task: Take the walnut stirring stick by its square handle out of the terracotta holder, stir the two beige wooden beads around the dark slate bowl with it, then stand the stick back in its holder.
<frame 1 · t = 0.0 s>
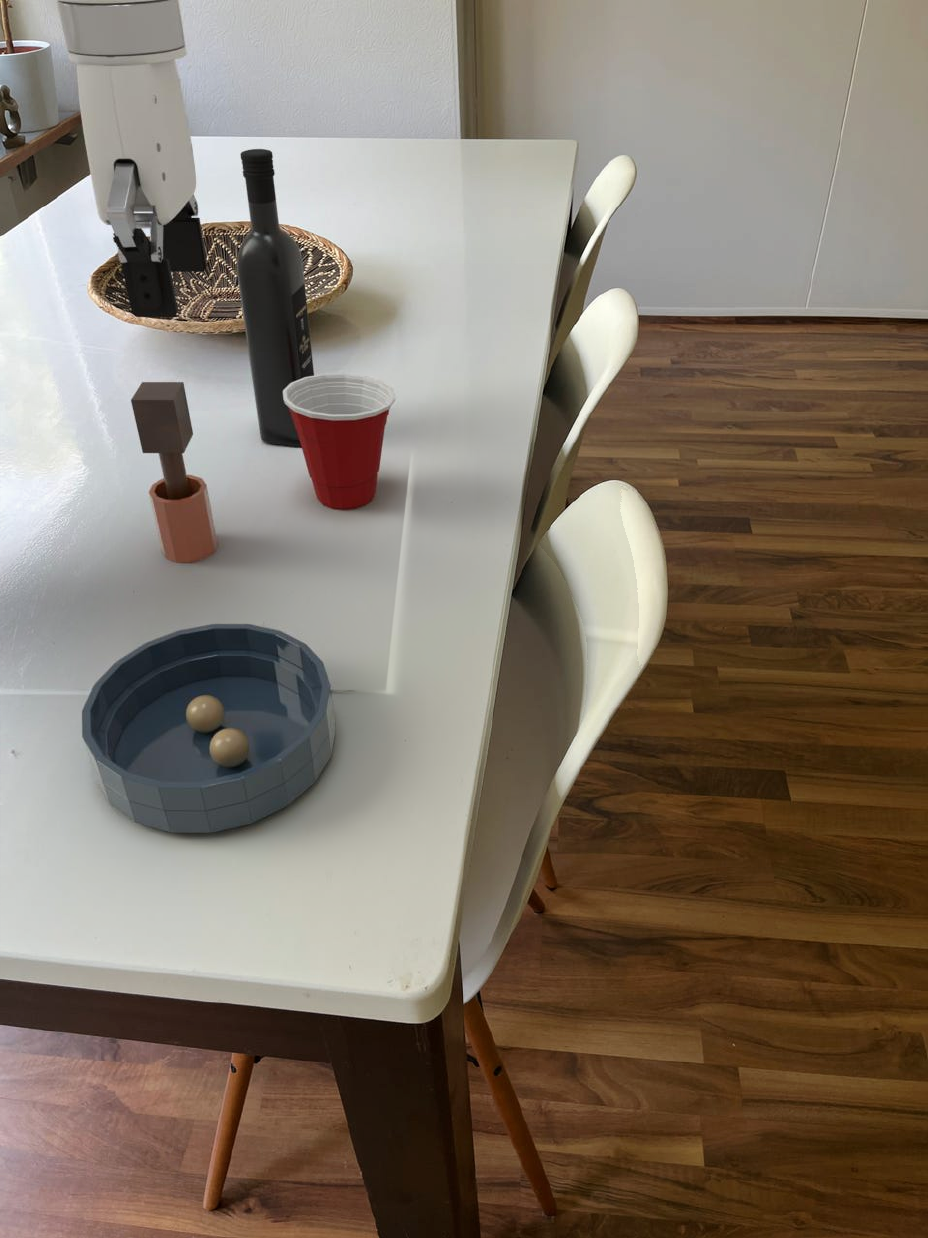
hand: (172, 291, 75), 26 cm above the table, tool pointing down, fingers open, 9 cm apart
stick: (190, 547, 94), resting on stick holder
bead a: (205, 714, 73), point 2 cm above the table, touching bowl
plastic cup: (348, 499, 102), on the table
wine bottle: (291, 436, 113), on the table
bowl: (218, 747, 73), on the table
stick holder: (190, 552, 94), on the table
bead b: (229, 747, 71), point 2 cm above the table, touching bowl
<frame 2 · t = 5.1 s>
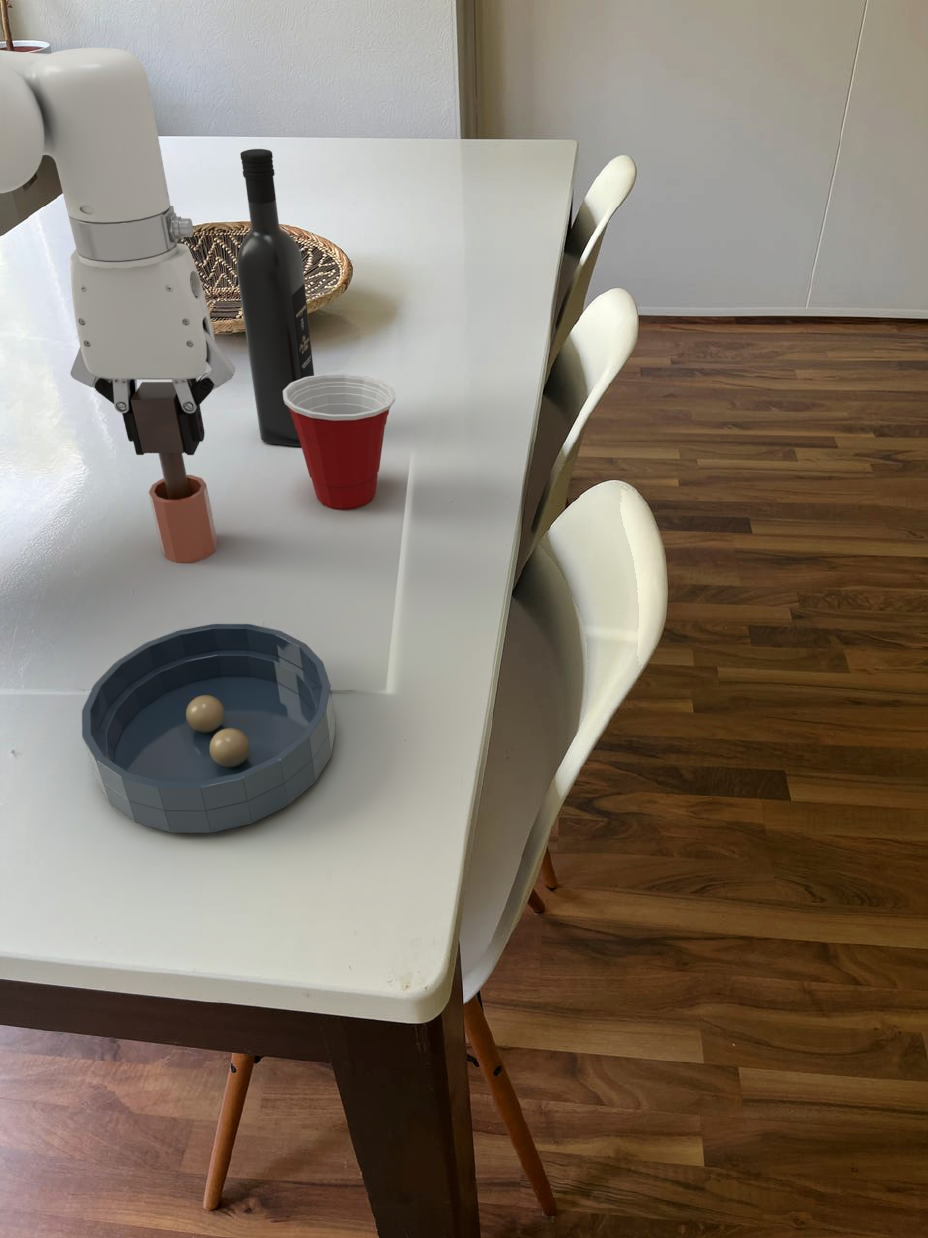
hand: (168, 445, 87), 11 cm above the table, tool pointing down, fingers closed on stick, 3 cm apart
stick: (190, 547, 94), point 1 cm above the table, touching gripper, stick holder
everything else where it was.
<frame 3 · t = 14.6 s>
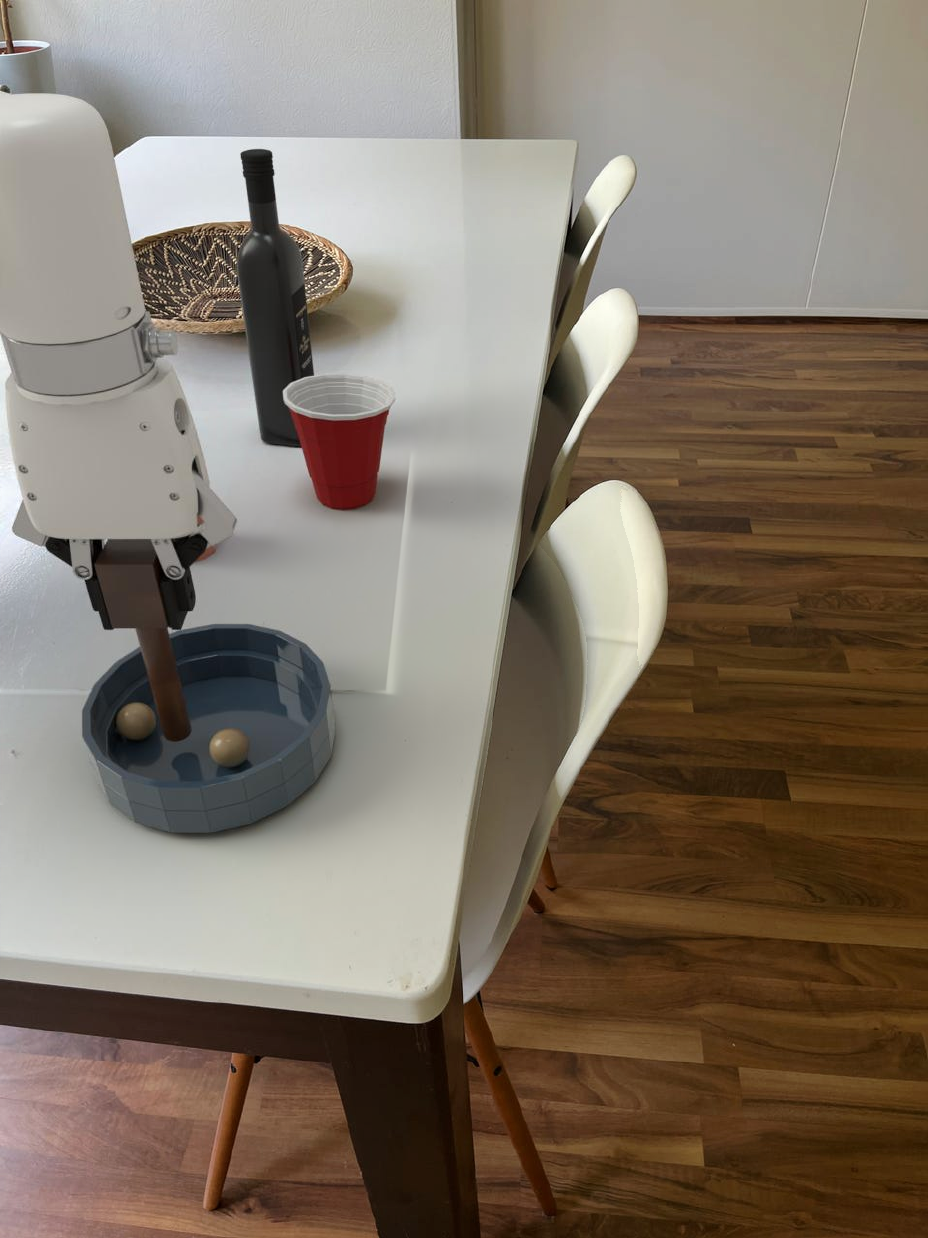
hand: (147, 614, 65), 13 cm above the table, tool pointing down, fingers closed on stick, 3 cm apart
stick: (177, 732, 72), point 2 cm above the table, touching gripper
bead a: (136, 721, 73), point 2 cm above the table, tilted 155°, touching bowl
everything else where it was.
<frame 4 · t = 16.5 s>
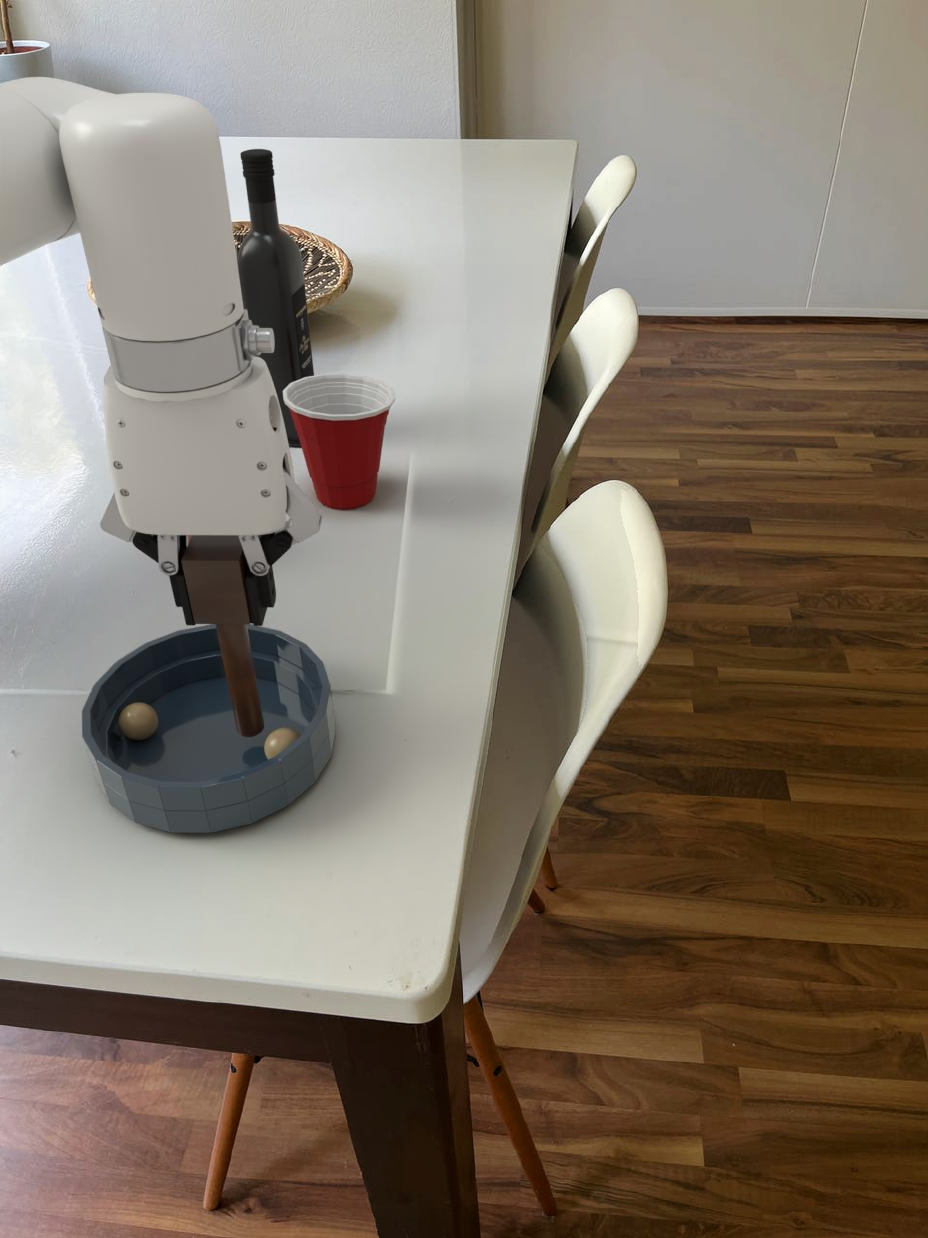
hand: (228, 610, 66), 13 cm above the table, tool pointing down, fingers closed on stick, 3 cm apart
stick: (250, 727, 72), point 2 cm above the table, touching gripper
bead a: (138, 721, 73), point 2 cm above the table, tilted 160°, touching bowl
bead b: (284, 747, 71), point 2 cm above the table, tilted 159°, touching bowl
everything else where it was.
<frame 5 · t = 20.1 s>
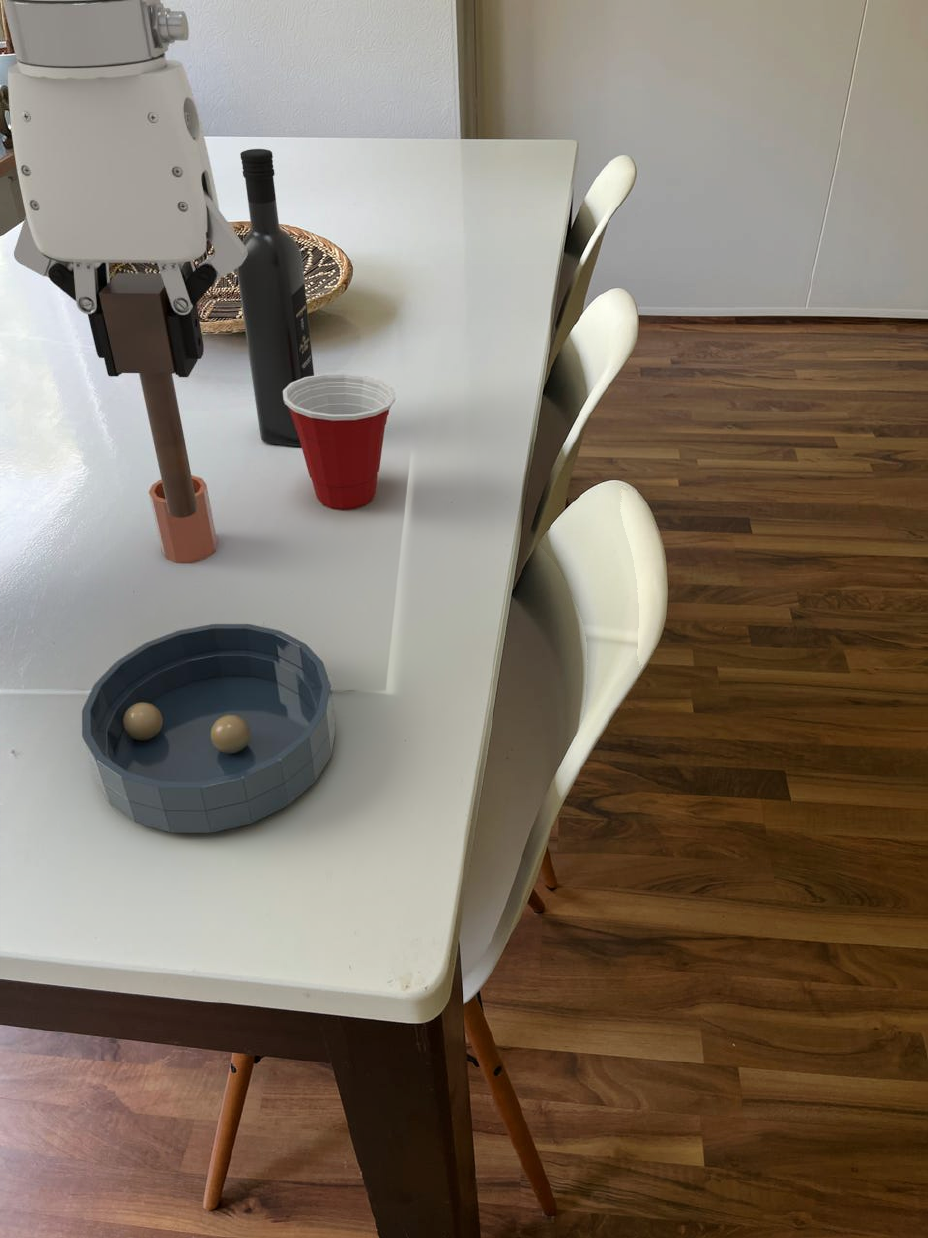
hand: (153, 365, 63), 27 cm above the table, tool pointing down, fingers closed on stick, 3 cm apart
stick: (183, 510, 69), point 16 cm above the table, touching gripper
bead a: (142, 721, 73), point 2 cm above the table, tilted 166°, touching bowl
bead b: (230, 734, 72), point 2 cm above the table, tilted 18°, touching bowl
everything else where it was.
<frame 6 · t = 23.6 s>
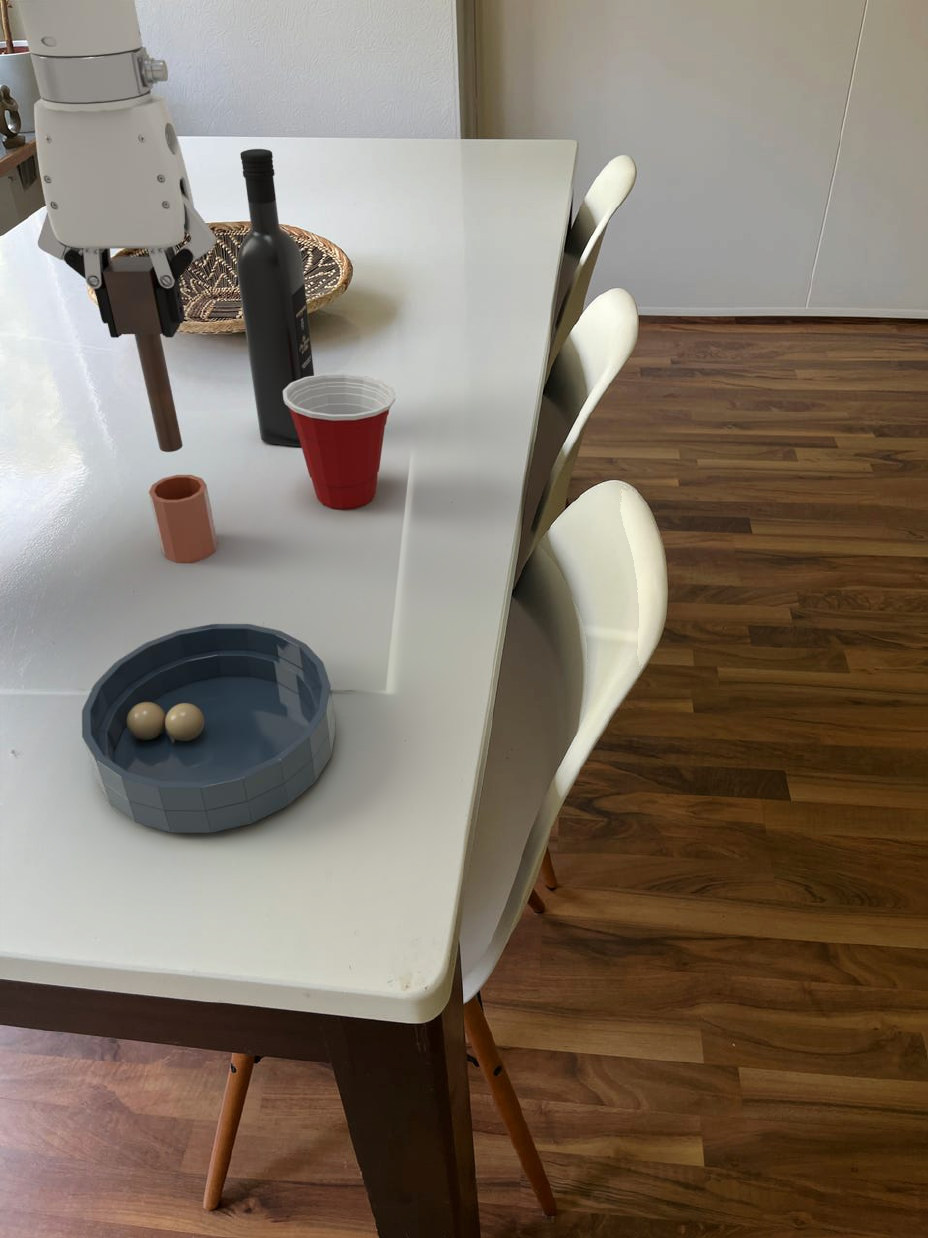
hand: (146, 328, 81), 22 cm above the table, tool pointing down, fingers closed on stick, 3 cm apart
stick: (171, 446, 87), point 11 cm above the table, touching gripper
bead b: (184, 722, 73), point 2 cm above the table, tilted 174°, touching bowl
everything else where it was.
when the fingers open (11 cm above the table, at t = 26.8 s): stick stays where it is, resting on stick holder.
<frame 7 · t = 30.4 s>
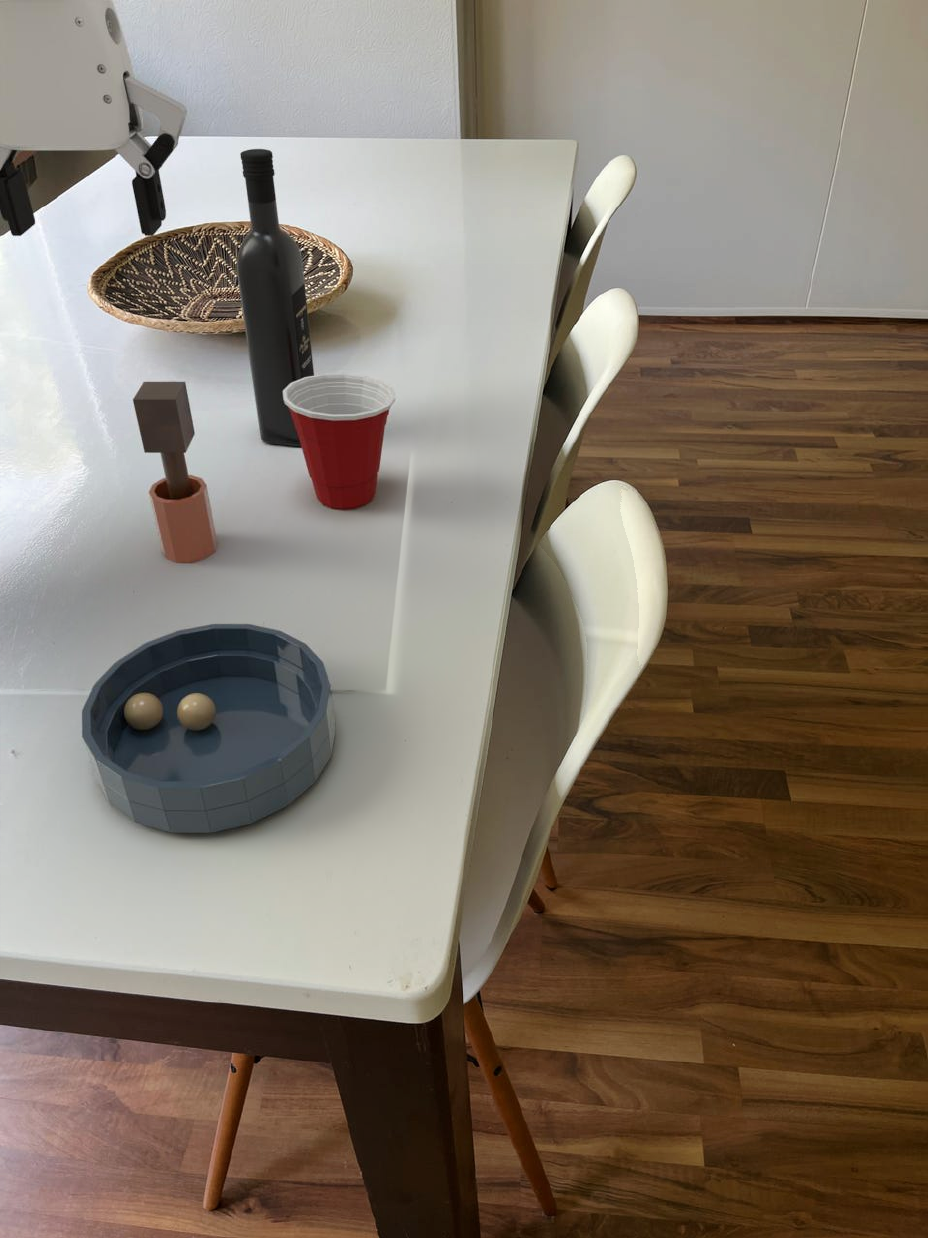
hand: (88, 230, 74), 30 cm above the table, tool pointing down, fingers open, 9 cm apart
stick: (191, 547, 94), resting on stick holder
bead a: (143, 711, 74), point 2 cm above the table, tilted 148°, touching bowl
bead b: (196, 712, 74), point 2 cm above the table, tilted 128°, touching bowl
everything else where it was.
at the end: bead b moved 4.9 cm from its start; stick 0.1 cm off-centre in the stick holder, point 0.5 cm above the stick holder's base; stick tilted 0° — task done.
